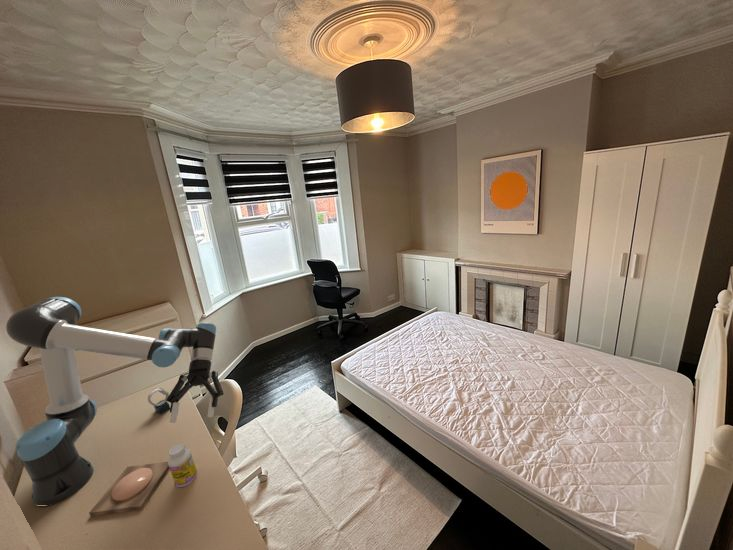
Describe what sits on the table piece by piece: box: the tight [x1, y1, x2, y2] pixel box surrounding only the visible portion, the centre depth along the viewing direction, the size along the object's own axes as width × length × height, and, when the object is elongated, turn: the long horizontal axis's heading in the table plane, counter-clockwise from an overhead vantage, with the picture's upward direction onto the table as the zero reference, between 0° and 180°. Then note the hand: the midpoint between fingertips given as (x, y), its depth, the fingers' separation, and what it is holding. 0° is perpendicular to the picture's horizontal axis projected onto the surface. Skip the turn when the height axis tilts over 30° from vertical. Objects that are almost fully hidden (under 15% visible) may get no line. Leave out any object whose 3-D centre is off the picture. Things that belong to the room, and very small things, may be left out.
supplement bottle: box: [167, 442, 198, 488], centre depth 98 cm, size 7×7×13 cm
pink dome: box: [112, 468, 153, 501], centre depth 98 cm, size 11×11×1 cm
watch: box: [147, 387, 171, 415], centre depth 137 cm, size 6×8×11 cm
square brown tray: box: [88, 461, 170, 517], centre depth 99 cm, size 16×16×2 cm
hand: (191, 419), depth 106 cm, fingers open, 13 cm apart
